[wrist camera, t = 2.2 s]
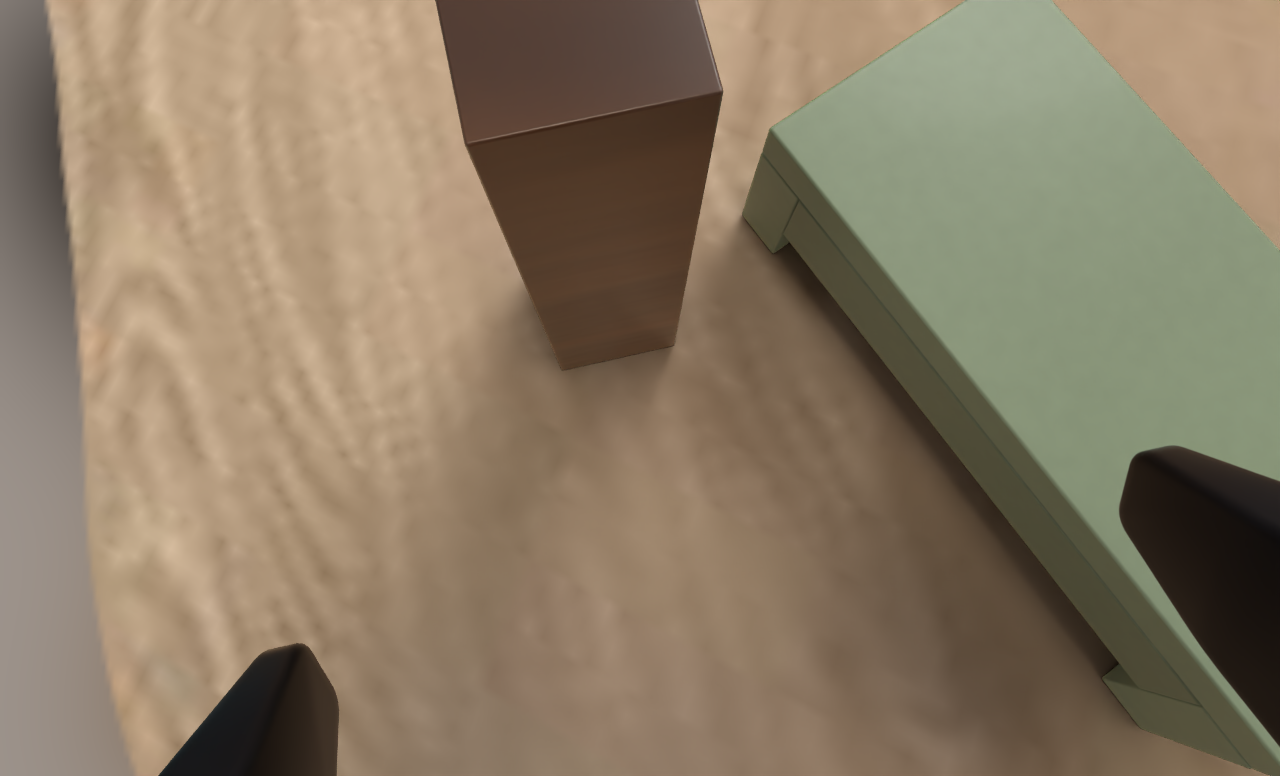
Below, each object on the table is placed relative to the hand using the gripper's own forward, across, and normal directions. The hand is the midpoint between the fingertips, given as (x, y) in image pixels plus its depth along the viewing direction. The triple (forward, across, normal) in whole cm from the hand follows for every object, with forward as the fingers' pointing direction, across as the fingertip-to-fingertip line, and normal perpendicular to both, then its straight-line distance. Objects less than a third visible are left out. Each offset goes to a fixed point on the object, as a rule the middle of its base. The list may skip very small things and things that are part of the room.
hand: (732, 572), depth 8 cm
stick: (+15, 0, +4) cm, 15 cm away
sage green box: (+12, -11, +8) cm, 18 cm away
